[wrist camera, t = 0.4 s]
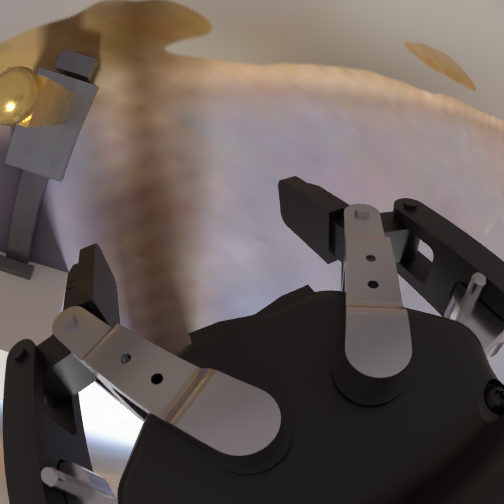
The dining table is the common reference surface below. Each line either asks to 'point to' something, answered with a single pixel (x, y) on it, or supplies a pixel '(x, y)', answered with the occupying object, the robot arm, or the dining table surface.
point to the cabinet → (27, 304)
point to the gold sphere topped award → (43, 118)
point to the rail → (36, 184)
